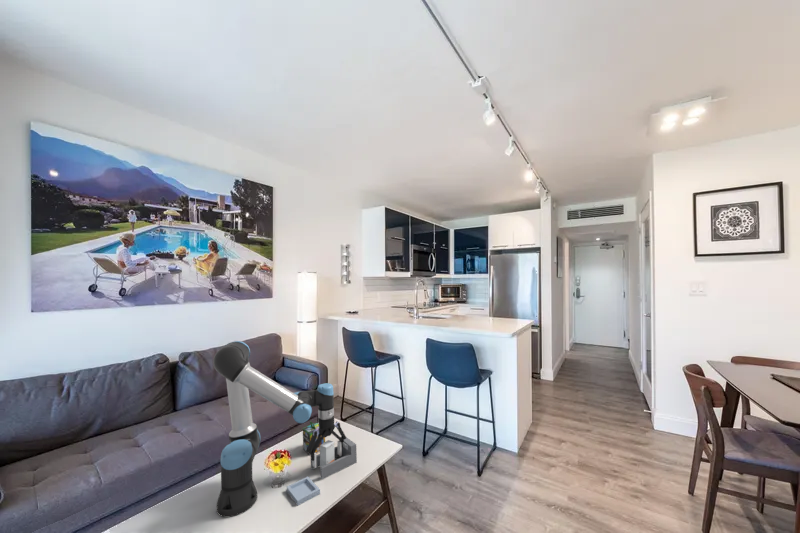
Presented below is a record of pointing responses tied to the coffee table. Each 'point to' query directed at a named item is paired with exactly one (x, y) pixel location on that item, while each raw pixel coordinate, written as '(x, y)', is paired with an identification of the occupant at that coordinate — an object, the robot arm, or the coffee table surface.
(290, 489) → the tray
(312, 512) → the coffee table surface
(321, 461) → the skincare box
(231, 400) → the robot arm
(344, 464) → the dock
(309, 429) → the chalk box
